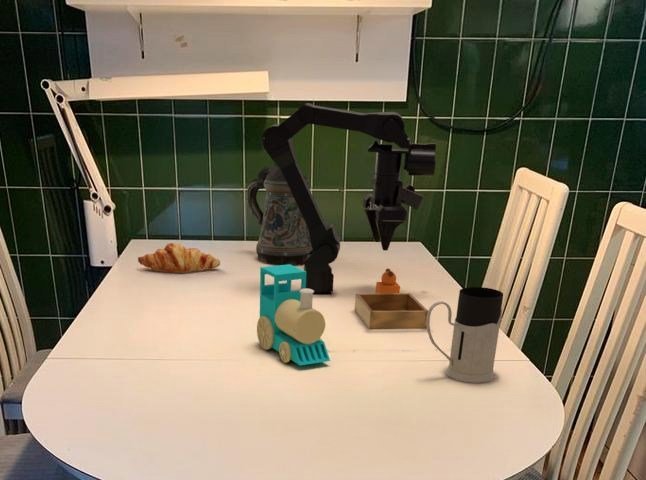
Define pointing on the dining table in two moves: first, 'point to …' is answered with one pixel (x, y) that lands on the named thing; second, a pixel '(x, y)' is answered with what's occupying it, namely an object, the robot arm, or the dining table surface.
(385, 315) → the wooden box
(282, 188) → the beer stein
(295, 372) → the dining table surface
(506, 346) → the dining table surface
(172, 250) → the croissant
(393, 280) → the toy bear
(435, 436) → the dining table surface
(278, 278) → the toy train
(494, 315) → the glass holder
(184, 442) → the dining table surface
